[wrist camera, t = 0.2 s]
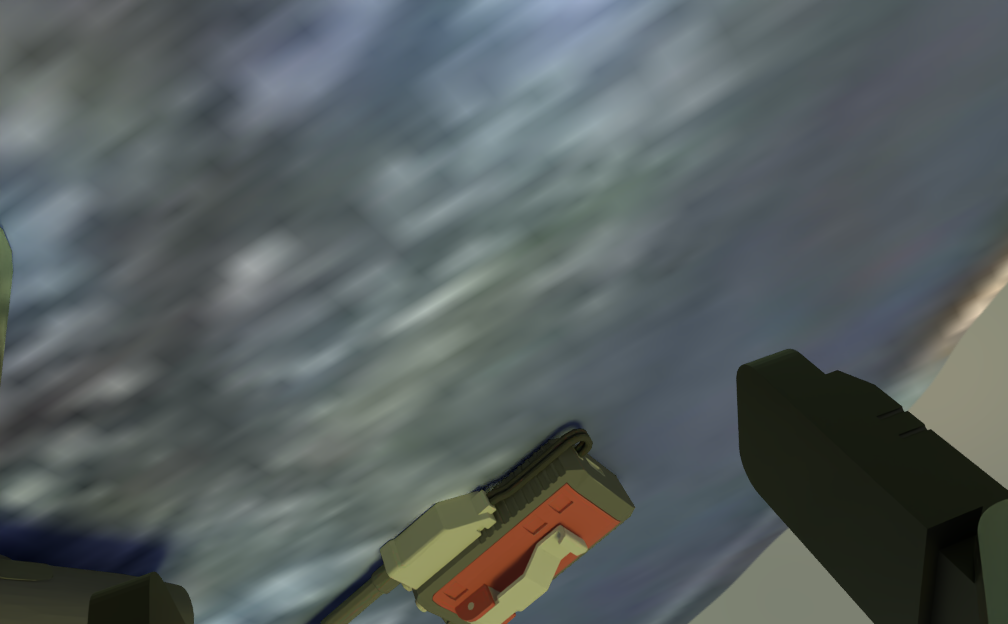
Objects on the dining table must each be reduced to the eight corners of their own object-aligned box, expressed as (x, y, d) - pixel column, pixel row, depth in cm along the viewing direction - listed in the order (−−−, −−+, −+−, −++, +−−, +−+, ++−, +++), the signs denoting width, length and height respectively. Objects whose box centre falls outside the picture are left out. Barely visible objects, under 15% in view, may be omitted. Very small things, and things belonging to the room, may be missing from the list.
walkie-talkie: (549, 393, 46) (270, 634, 49) (585, 453, 43) (283, 707, 46) (635, 463, 52) (380, 675, 55) (673, 520, 48) (399, 742, 52)
